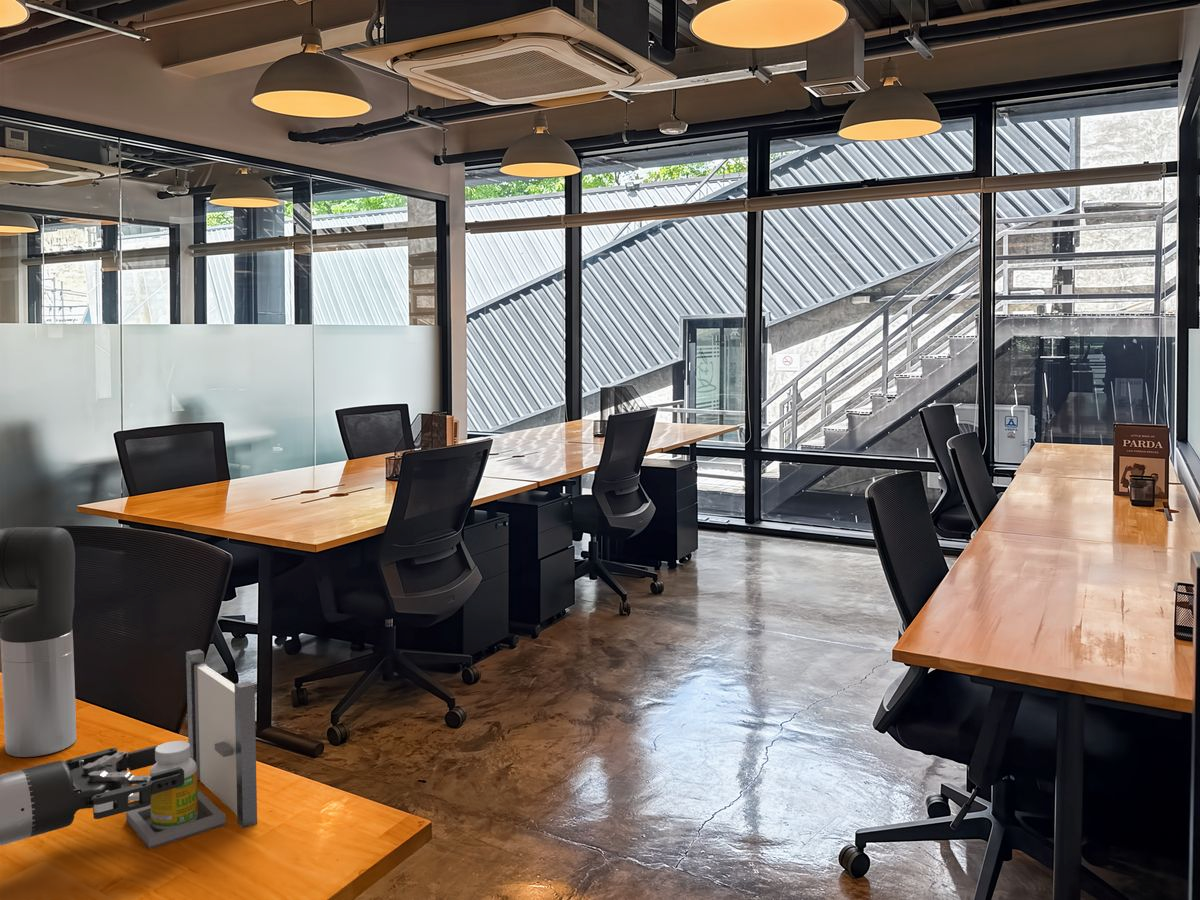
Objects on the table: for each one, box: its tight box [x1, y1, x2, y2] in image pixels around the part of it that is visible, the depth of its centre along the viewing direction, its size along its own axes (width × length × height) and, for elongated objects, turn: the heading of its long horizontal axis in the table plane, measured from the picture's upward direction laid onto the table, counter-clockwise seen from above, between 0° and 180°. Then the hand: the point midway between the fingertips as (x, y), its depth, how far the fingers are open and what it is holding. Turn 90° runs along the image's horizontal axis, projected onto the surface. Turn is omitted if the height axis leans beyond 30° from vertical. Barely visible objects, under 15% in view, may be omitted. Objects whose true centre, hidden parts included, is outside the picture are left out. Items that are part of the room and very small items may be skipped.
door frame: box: [185, 649, 258, 829], centre depth 122 cm, size 19×2×18 cm, turn 43°
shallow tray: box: [125, 790, 226, 850], centre depth 116 cm, size 9×9×1 cm
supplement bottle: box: [149, 740, 198, 830], centre depth 116 cm, size 5×5×10 cm
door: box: [194, 663, 237, 815], centre depth 122 cm, size 15×3×16 cm, turn 43°
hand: (171, 764), depth 116 cm, fingers open, 8 cm apart
